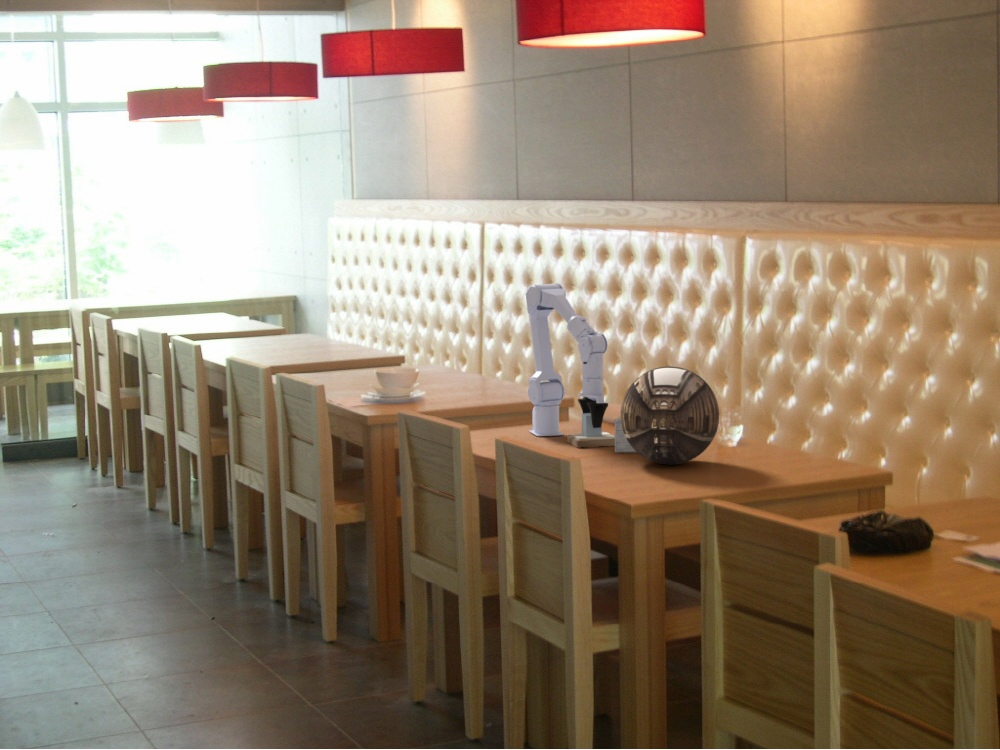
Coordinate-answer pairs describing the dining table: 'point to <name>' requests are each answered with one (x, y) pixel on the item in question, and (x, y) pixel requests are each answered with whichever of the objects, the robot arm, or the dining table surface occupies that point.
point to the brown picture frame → (591, 440)
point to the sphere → (669, 415)
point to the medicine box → (621, 439)
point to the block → (589, 426)
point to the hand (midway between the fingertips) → (592, 425)
